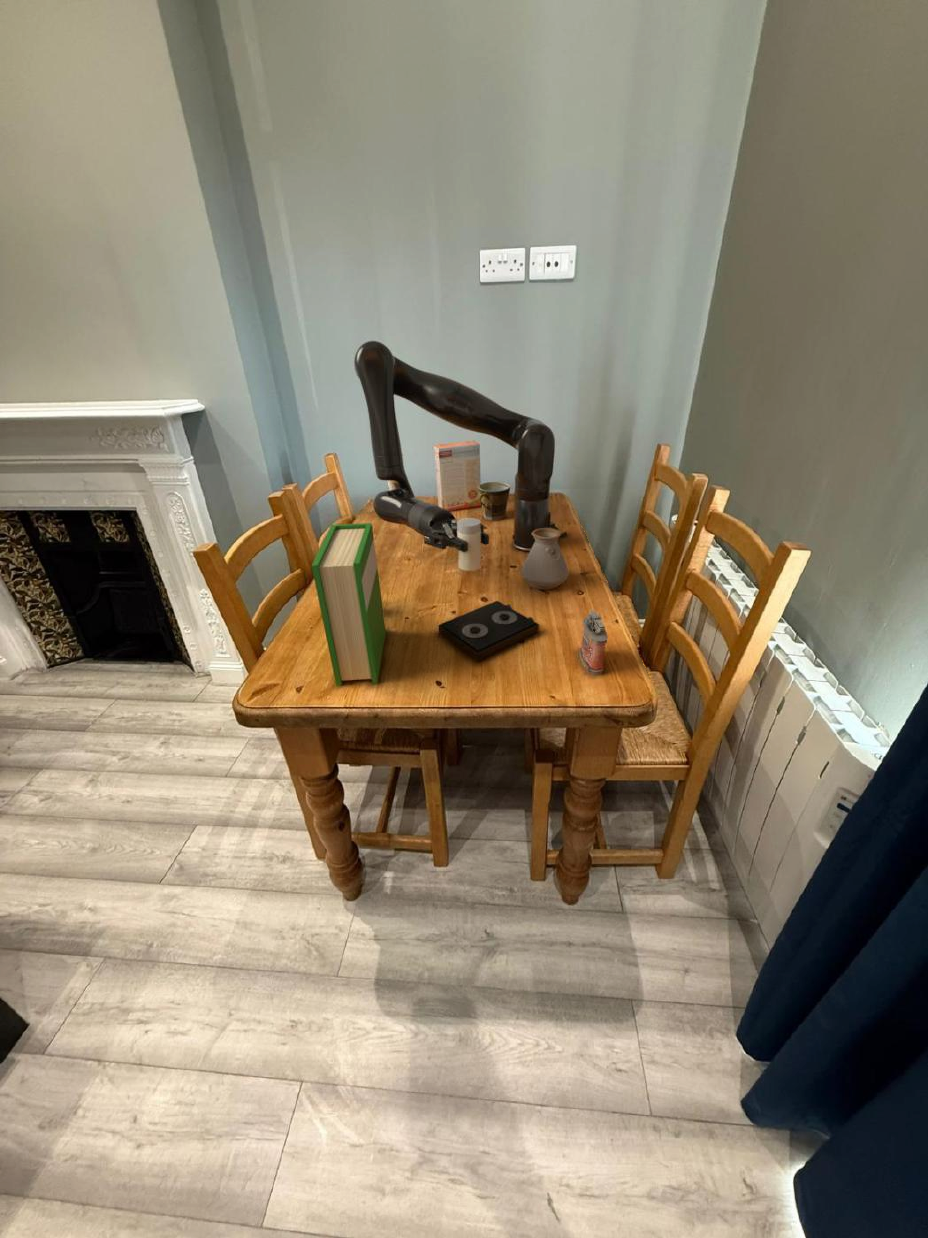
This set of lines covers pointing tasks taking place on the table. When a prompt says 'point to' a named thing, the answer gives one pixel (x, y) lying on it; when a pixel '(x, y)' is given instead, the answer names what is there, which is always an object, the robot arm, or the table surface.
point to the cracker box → (458, 475)
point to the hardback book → (351, 601)
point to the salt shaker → (470, 543)
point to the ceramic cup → (494, 499)
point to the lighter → (593, 643)
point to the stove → (488, 630)
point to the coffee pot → (545, 561)
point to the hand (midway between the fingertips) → (476, 543)
